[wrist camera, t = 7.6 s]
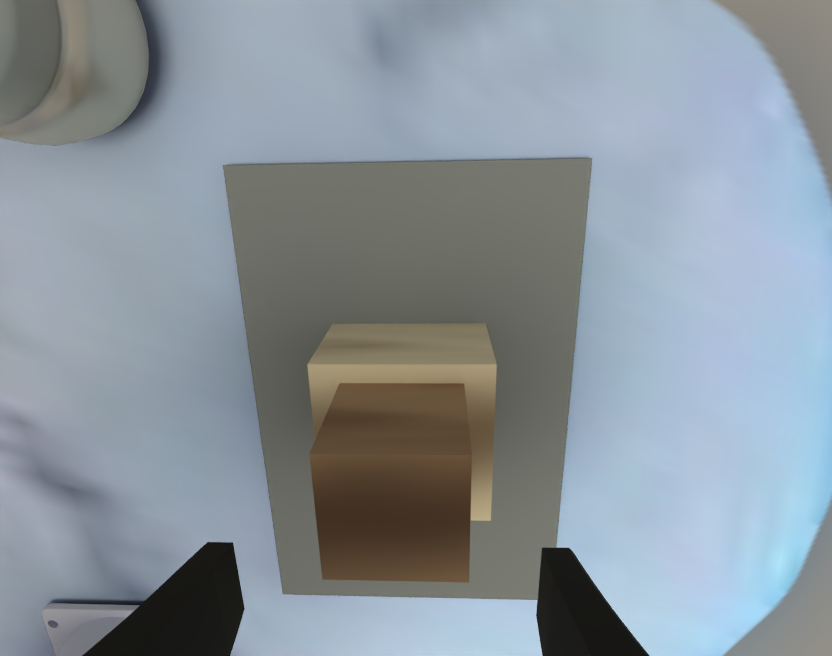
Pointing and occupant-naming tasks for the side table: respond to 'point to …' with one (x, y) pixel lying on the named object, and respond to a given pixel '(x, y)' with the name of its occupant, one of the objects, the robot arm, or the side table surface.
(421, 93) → the side table surface
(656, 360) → the side table surface
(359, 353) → the birch base block
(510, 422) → the grey flat rectangular panel
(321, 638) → the side table surface
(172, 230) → the side table surface
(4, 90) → the plastic bottle
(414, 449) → the walnut block
